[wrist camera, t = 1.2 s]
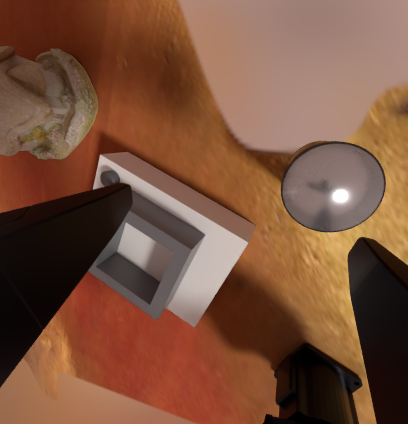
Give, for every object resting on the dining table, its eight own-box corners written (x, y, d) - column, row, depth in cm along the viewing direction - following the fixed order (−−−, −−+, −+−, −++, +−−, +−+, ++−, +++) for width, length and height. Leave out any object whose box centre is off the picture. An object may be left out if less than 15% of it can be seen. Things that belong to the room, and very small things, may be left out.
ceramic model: (47, 174, 31) (-52, 189, 22) (3, 95, 30) (-122, 78, 21) (114, 122, 25) (14, 115, 16) (62, 19, 23) (-81, -53, 14)
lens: (370, 158, 17) (412, 170, 11) (327, 212, 20) (342, 248, 13) (307, 128, 18) (314, 125, 12) (273, 184, 20) (264, 205, 14)
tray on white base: (255, 225, 22) (240, 260, 16) (207, 302, 27) (181, 351, 21) (127, 151, 25) (72, 157, 19) (105, 234, 30) (57, 260, 24)
